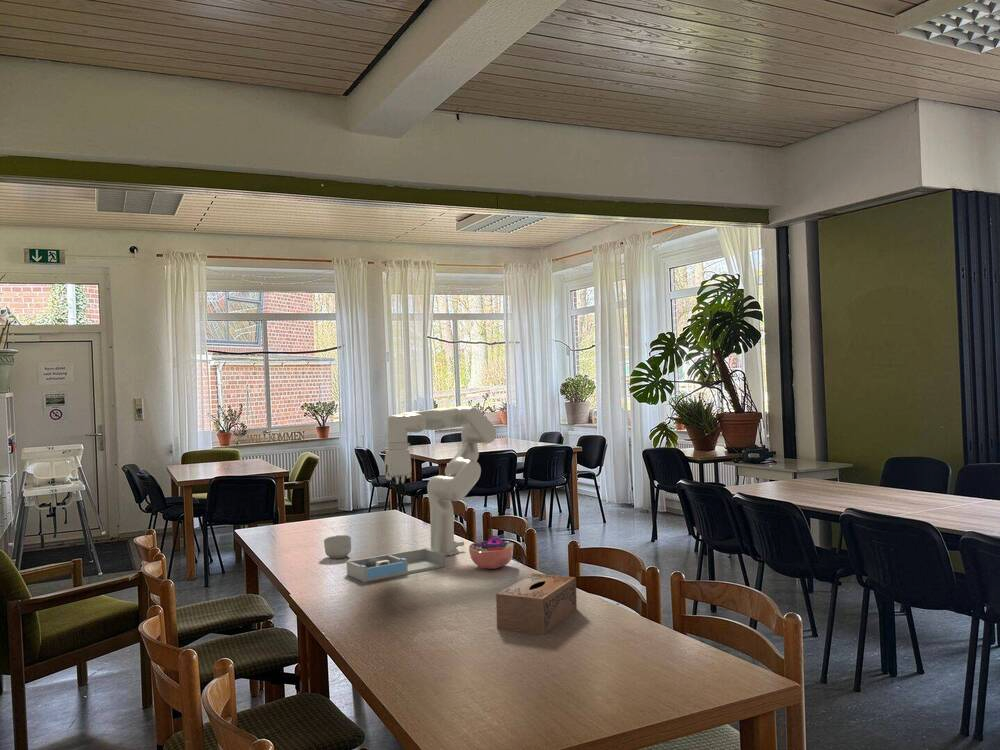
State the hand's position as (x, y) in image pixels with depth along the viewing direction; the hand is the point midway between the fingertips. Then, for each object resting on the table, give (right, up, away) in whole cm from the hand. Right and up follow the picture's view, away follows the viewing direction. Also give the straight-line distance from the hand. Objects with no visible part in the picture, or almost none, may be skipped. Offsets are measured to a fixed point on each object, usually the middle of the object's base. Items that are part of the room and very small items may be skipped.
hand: (398, 493), depth 311 cm
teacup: (-26, -28, +15) cm, 41 cm away
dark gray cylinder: (-5, -24, -18) cm, 30 cm away
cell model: (+36, -27, -10) cm, 46 cm away
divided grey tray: (+1, -27, -12) cm, 30 cm away
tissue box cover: (+51, -26, -75) cm, 94 cm away
